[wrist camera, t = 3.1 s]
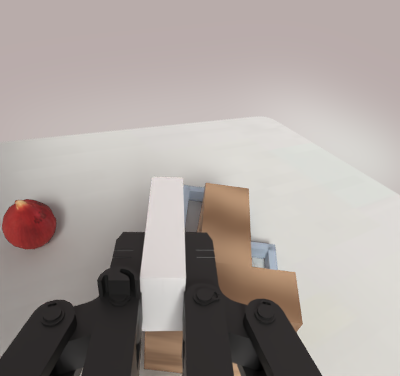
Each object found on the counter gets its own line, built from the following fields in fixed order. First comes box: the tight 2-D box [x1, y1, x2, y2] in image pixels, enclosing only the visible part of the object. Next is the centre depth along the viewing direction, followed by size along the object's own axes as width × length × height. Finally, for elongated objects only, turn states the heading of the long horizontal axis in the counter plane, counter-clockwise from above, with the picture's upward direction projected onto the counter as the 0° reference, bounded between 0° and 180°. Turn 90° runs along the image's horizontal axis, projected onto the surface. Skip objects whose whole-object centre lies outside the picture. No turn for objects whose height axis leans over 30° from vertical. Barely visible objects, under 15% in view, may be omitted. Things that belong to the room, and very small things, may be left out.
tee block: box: [144, 183, 303, 376], centre depth 36 cm, size 14×12×14 cm
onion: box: [2, 199, 56, 249], centre depth 42 cm, size 6×6×8 cm
